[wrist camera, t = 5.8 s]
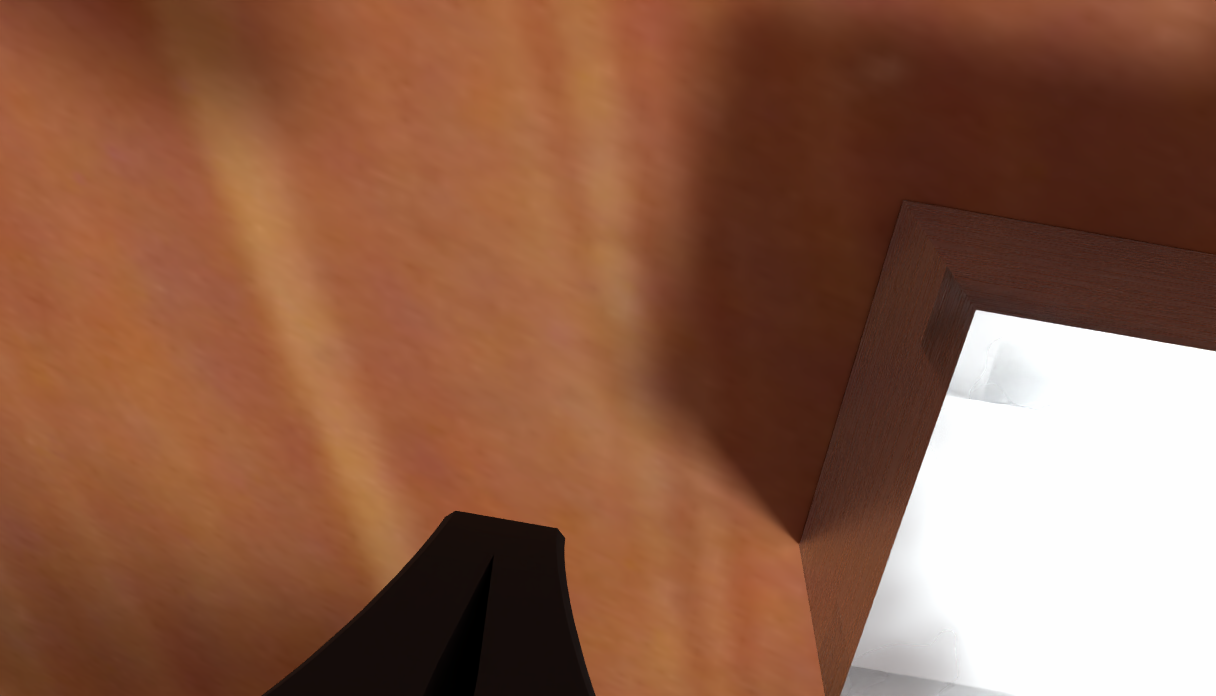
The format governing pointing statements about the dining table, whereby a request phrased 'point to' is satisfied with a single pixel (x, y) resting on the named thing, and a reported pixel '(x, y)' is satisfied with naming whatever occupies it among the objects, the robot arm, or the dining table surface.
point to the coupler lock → (1022, 470)
